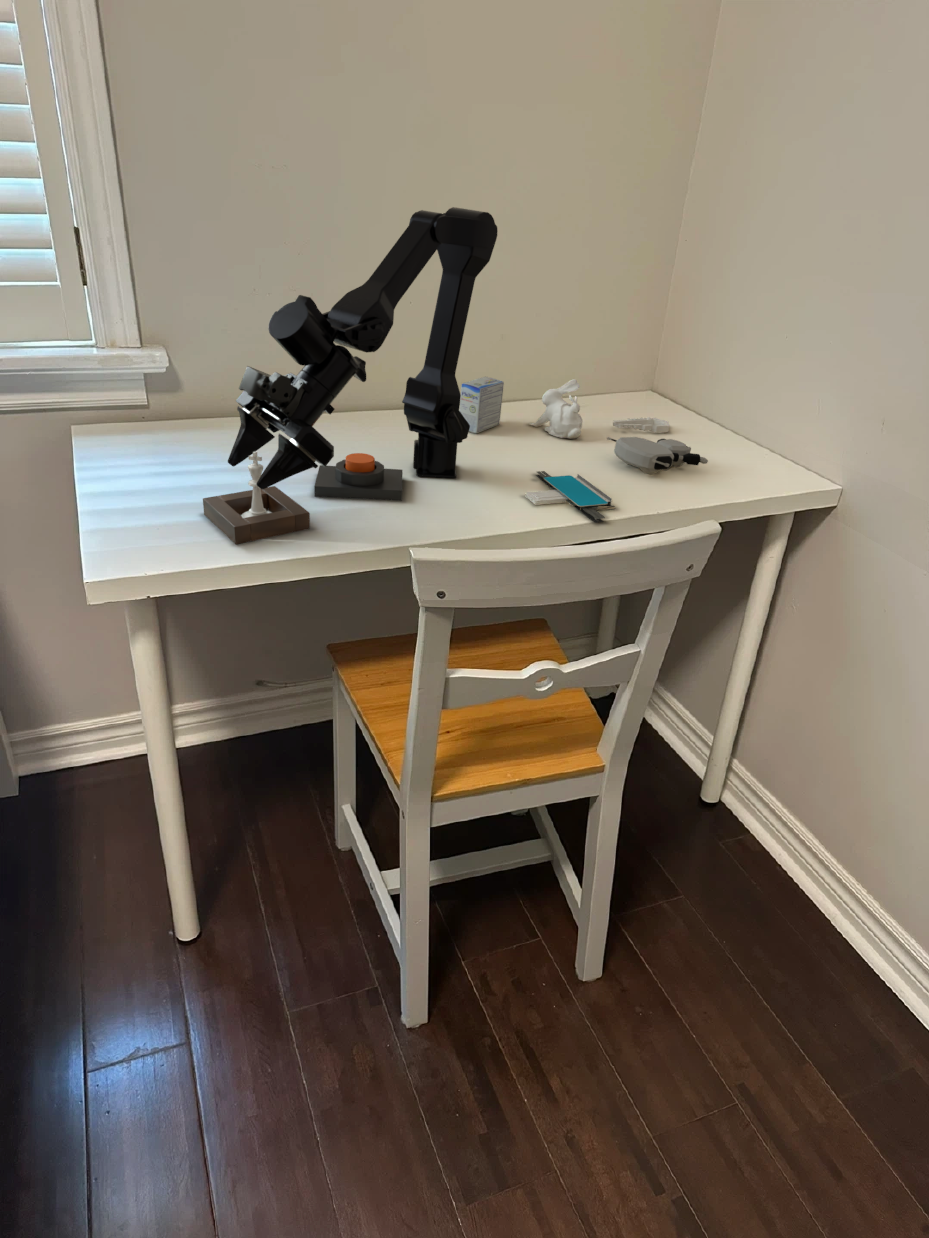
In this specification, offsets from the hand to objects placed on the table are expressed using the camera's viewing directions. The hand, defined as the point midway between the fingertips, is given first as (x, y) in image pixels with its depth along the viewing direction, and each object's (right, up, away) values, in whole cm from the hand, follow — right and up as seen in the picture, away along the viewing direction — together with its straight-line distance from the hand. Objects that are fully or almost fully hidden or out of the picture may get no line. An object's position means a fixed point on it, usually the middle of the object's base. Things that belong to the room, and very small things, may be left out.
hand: (244, 475), depth 115 cm
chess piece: (+1, -6, +5) cm, 7 cm away
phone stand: (+45, 0, +21) cm, 50 cm away
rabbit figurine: (+48, +17, +51) cm, 72 cm away
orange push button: (+13, +4, +16) cm, 22 cm away
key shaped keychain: (+65, +18, +56) cm, 87 cm away
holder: (+1, -6, +4) cm, 7 cm away
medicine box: (+32, +17, +49) cm, 61 cm away
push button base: (+13, +1, +18) cm, 22 cm away
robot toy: (+63, +8, +37) cm, 74 cm away
